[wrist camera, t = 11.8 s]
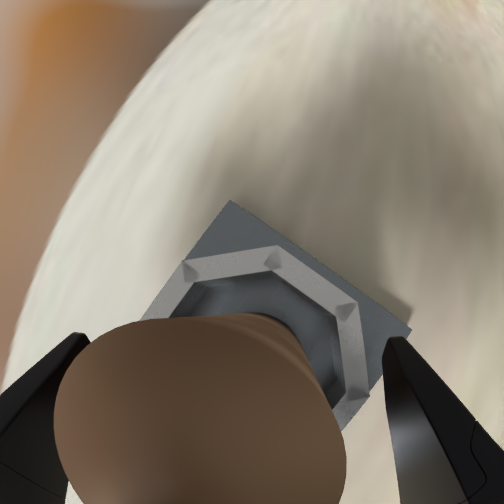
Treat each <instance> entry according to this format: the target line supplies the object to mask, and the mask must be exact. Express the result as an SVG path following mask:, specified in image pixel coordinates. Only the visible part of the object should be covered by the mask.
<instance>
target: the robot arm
mask: <svg viewBox="0 0 504 504" xmlns="http://www.w3.org/2000/svg"><path fill="white" fill-rule="evenodd" d="M90 343H91V342H90V341H89V339H88V337H87V336H86V334H84V333H79V332H74V333H72V334H70V335H69V336H68V337H67V338H66V339H64V340H63V341H62V342H61V343H60V344H58V345H57V346H56V347H55V348H54V349H52V350H51V351H50V352H49V353H48V354H47V355H45V356H44V357H43V358H42V359H41V360H40V361H38V362H37V363H36V364H35V365H34V366H33V367H31V368H30V369H29V370H28V371H27V372H26V373H25V374H23V375H22V376H21V377H20V378H19V379H18V380H17V381H15V382H14V383H13V384H12V385H11V386H10V387H9V388H8V389H6V390H5V391H4V392H3V393H2V394H1V395H0V504H65V499H66V493H67V487H68V481H69V479H68V478H67V476H66V474H65V471H64V469H63V466H62V463H61V461H60V458H59V454H58V450H57V446H56V441H55V434H54V409H55V402H56V396H57V393H58V390H59V386H60V383H61V381H62V379H63V377H64V375H65V373H66V371H67V369H68V368H69V366H70V365H71V363H72V362H73V360H74V359H75V358H76V356H77V355H78V354H79V353H80V352H81V351H82V350H83V349H84V348H85V347H86V346H87V345H89V344H90ZM382 370H383V380H384V392H385V404H386V412H387V418H388V423H389V429H390V434H391V440H392V446H393V452H394V459H395V465H396V472H397V480H398V487H399V495H400V504H504V450H503V449H502V448H501V447H500V446H499V445H498V444H497V443H496V442H495V441H494V440H493V439H492V438H491V436H490V435H489V434H488V433H487V432H486V431H485V430H484V428H483V427H482V426H481V425H480V423H479V422H478V421H475V420H476V419H475V418H474V416H473V415H472V414H471V413H470V412H469V410H468V409H467V408H466V407H465V406H464V404H463V403H462V402H461V401H460V400H459V399H458V397H457V396H456V395H455V394H454V393H453V392H452V390H451V389H450V388H449V387H448V386H447V385H446V384H445V382H444V381H443V380H442V379H441V378H440V377H439V376H438V374H437V373H436V372H435V371H434V370H433V369H432V368H431V366H430V365H429V364H428V363H427V362H426V361H425V360H424V359H423V358H422V356H421V355H420V354H419V353H418V352H417V351H416V350H415V349H414V348H413V346H412V345H411V344H410V343H409V342H408V341H407V340H406V339H405V338H404V337H403V336H392V337H389V338H388V340H387V342H386V345H385V348H384V351H383V354H382Z"/></svg>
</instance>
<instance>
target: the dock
mask: <svg viewBox="0 0 504 504" xmlns="http://www.w3.org/2000/svg"><path fill="white" fill-rule="evenodd" d="M251 312H256V313H264V314H268V315H271V316H273V317H276V318H278V319H279V320H281V321H283V322H284V323H285V324H286V325H288V326H289V327H290V329H291V330H292V331H293V332H294V333H295V335H296V336H297V338H298V340H299V342H300V344H301V346H302V348H303V351H304V353H305V355H306V357H307V359H308V361H309V363H310V365H311V367H312V369H313V372H314V374H315V376H316V378H317V380H318V382H319V384H320V386H321V388H322V390H323V393H324V395H325V397H326V399H327V401H328V403H329V405H330V407H331V409H332V411H333V414H334V416H335V418H336V420H337V422H338V425H339V428H340V431H342V430H343V429H344V428H345V426H346V425H347V424H348V423H349V422H350V420H351V419H352V418H353V417H354V416H355V414H356V413H357V412H358V411H359V409H360V408H361V407H362V405H363V404H364V403H365V402H366V400H367V399H368V398H369V397H370V395H369V392H370V390H371V389H372V388H373V386H374V385H375V384H376V382H377V381H378V380H379V378H380V377H381V375H382V374H383V370H382V354H383V351H384V348H385V345H386V342H387V340H388V338H389V337H392V336H403V337H404V338H405V339H407V337H408V336H409V334H410V332H411V331H412V329H411V328H409V327H408V326H407V325H405V324H404V323H403V322H401V321H400V320H399V319H397V318H396V317H395V316H393V315H392V314H391V313H389V312H388V311H387V310H385V309H384V308H383V307H381V306H380V305H379V304H377V303H376V302H374V301H373V300H372V299H370V298H369V297H368V296H366V295H365V294H363V293H362V292H361V291H359V290H358V289H357V288H355V287H354V286H352V285H351V284H350V283H348V282H347V281H346V280H344V279H343V278H341V277H340V276H339V275H337V274H336V273H334V272H333V271H332V270H330V269H329V268H327V267H326V266H325V265H323V264H322V263H320V262H319V261H318V260H316V259H315V258H313V257H312V256H311V255H309V254H308V253H306V252H305V251H303V250H302V249H301V248H299V247H298V246H296V245H295V244H294V243H292V242H291V241H289V240H288V239H286V238H285V237H284V236H282V235H281V234H279V233H278V232H276V231H275V230H273V229H272V228H271V227H269V226H268V225H266V224H265V223H263V222H262V221H260V220H259V219H258V218H256V217H255V216H253V215H252V214H250V213H249V212H247V211H246V210H244V209H243V208H241V207H240V206H238V205H237V204H236V203H234V202H233V201H231V200H229V202H228V203H227V204H226V206H225V207H224V208H223V209H222V211H221V212H220V213H219V215H218V216H217V217H216V219H215V220H214V221H213V222H212V224H211V225H210V226H209V228H208V229H207V230H206V232H205V233H204V234H203V236H202V237H201V238H200V240H199V241H198V242H197V244H196V245H195V246H194V248H193V249H192V250H191V252H190V253H189V254H188V256H187V257H186V258H185V260H183V261H182V262H181V264H180V265H179V266H178V268H177V269H176V270H175V272H174V273H173V274H172V276H171V277H170V279H169V280H168V281H167V283H166V284H165V286H164V287H163V288H162V290H161V291H160V293H159V294H158V295H157V297H156V298H155V300H154V301H153V302H152V304H151V305H150V307H149V308H148V309H147V311H146V312H145V314H144V315H143V317H142V318H141V319H140V321H142V320H148V319H157V318H178V317H195V316H211V315H225V314H238V313H251Z"/></svg>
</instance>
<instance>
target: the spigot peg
mask: <svg viewBox="0 0 504 504" xmlns="http://www.w3.org/2000/svg"><path fill="white" fill-rule="evenodd" d="M54 434H55V441H56V446H57V450H58V454H59V458H60V461H61V463H62V466H63V469H64V471H65V474H66V476H67V478H68V479H69V481H70V483H71V485H72V487H73V489H74V490H75V492H76V493H77V495H78V496H79V498H80V499H81V501H82V502H83V503H84V504H339V501H340V499H341V496H342V493H343V490H344V484H345V479H346V452H345V446H344V440H343V437H342V434H341V431H340V428H339V425H338V422H337V420H336V418H335V416H334V414H333V411H332V409H331V407H330V405H329V403H328V401H327V399H326V397H325V395H324V393H323V390H322V388H321V386H320V384H319V382H318V380H317V378H316V376H315V374H314V372H313V369H312V367H311V365H310V363H309V361H308V359H307V357H306V355H305V353H304V351H303V348H302V346H301V344H300V342H299V340H298V338H297V336H296V335H295V333H294V332H293V331H292V330H291V329H290V327H289V326H288V325H286V324H285V323H284V322H283V321H281V320H279V319H278V318H276V317H273V316H271V315H268V314H264V313H256V312H251V313H238V314H225V315H211V316H195V317H178V318H157V319H148V320H142V321H137V322H132V323H129V324H126V325H123V326H120V327H117V328H115V329H113V330H111V331H109V332H107V333H105V334H103V335H101V336H99V337H98V338H97V339H95V340H94V341H93V342H91V343H90V344H89V345H87V346H86V347H85V348H84V349H83V350H82V351H81V352H80V353H79V354H78V355H77V356H76V358H75V359H74V360H73V362H72V363H71V365H70V366H69V368H68V369H67V371H66V373H65V375H64V377H63V379H62V381H61V383H60V386H59V390H58V393H57V396H56V402H55V409H54Z"/></svg>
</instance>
